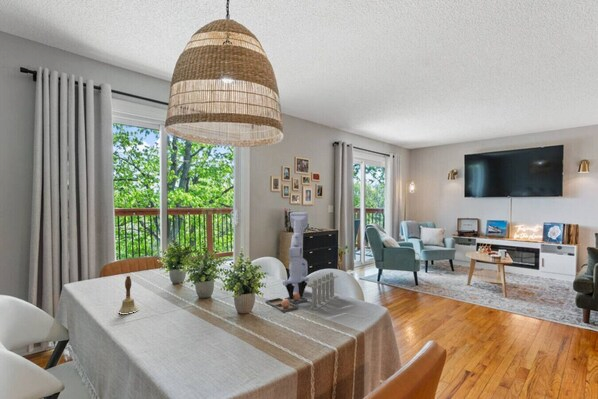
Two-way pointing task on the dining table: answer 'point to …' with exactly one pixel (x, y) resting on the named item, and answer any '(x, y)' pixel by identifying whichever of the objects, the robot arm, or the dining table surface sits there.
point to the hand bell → (128, 299)
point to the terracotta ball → (296, 296)
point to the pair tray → (277, 304)
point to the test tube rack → (314, 291)
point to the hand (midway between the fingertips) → (296, 297)
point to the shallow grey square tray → (297, 301)
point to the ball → (285, 303)
